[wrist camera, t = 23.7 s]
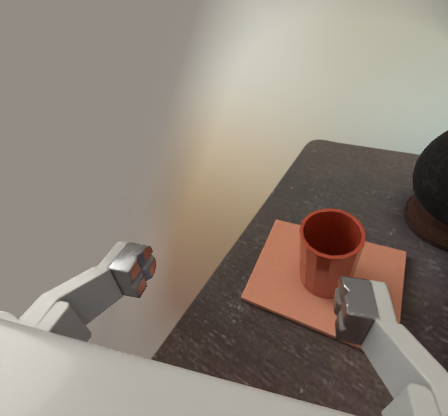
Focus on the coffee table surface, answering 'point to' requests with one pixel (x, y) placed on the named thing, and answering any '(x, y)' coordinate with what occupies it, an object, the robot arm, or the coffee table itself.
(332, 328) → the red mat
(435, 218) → the black ball on stand
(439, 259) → the coffee table surface
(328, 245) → the terracotta cup
